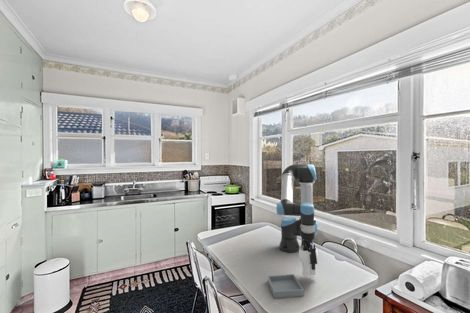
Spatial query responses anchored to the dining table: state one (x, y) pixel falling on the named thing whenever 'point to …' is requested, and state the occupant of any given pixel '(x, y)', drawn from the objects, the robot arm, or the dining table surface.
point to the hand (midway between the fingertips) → (308, 269)
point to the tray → (285, 286)
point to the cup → (306, 262)
